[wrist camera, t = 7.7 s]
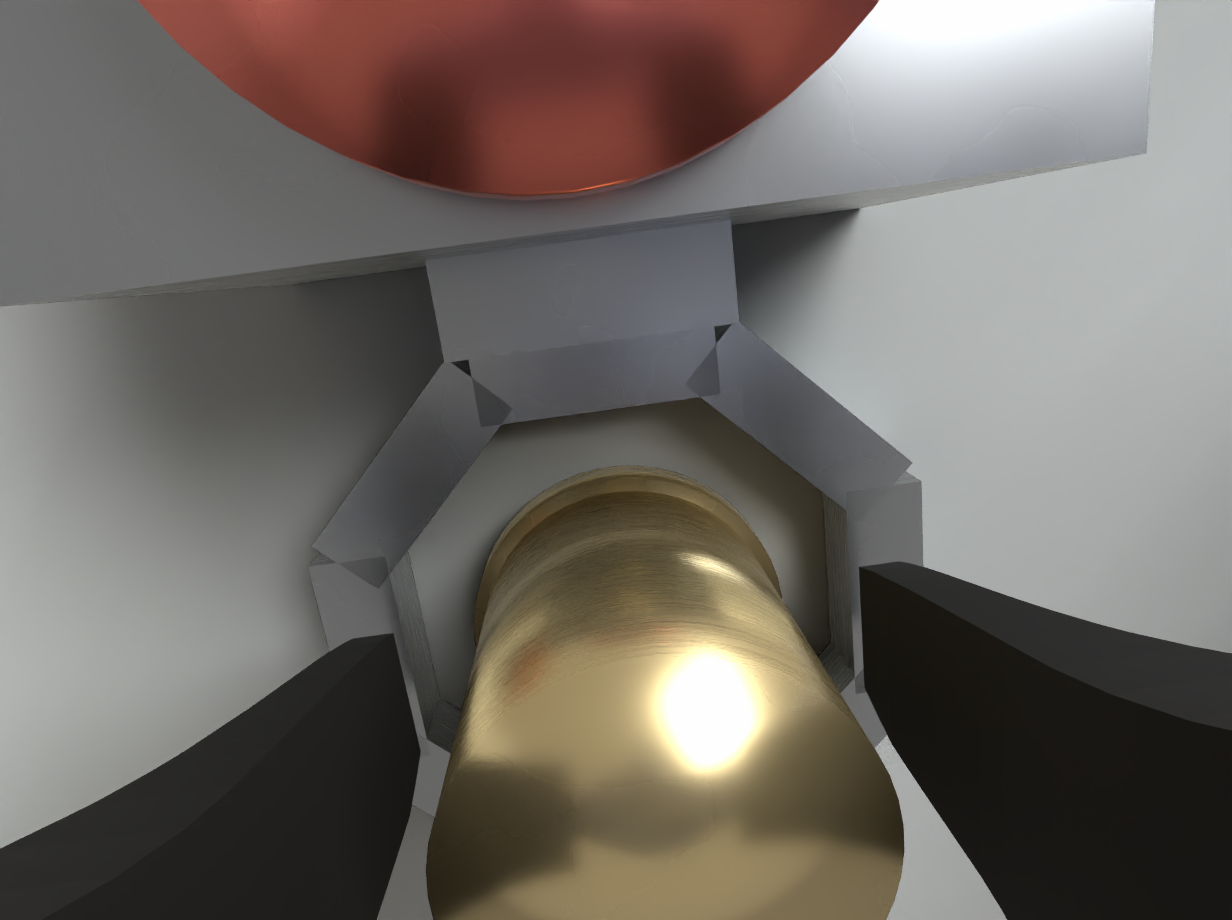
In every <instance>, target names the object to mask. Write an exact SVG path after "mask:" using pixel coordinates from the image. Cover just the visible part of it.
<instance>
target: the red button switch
mask: <svg viewBox="0 0 1232 920" xmlns="http://www.w3.org/2000/svg"><path fill="white" fill-rule="evenodd" d="M1154 5H1155V0H0V306H12V305H25V304H38V303H52V302H65V301H78V300H91V299H105V298H118V297H131V296H144V295H157V294H171V293H184V292H197V291H210V290H224V289H237V288H250V287H263V286H277V285H290V284H297V283H305V282H312V281H320V280H327V279H335V278H342V277H350V276H357V275H365V274H372V273H379V272H387V271H394V270H402V269H409V268H417V267H424V266H426V269H427V274H428V279H429V285H430V290H431V295H432V300H433V306H434V311H435V316H436V321H437V327H438V332H439V337H440V342H441V347H442V353H443V358H444V362H443V363H442V365H441V366H440V367H439V369H438V370H437V372H436V373H435V374H434V376H433V377H432V379H431V380H430V381H429V383H428V384H427V386H426V387H425V388H424V390H423V391H422V393H421V394H420V395H419V397H418V398H417V400H416V401H415V402H414V404H413V405H412V407H411V408H410V409H409V411H408V412H407V414H406V415H405V416H404V418H403V419H402V421H401V422H400V423H399V425H398V426H397V428H396V429H395V430H394V432H393V433H392V435H391V436H390V437H389V439H388V440H387V442H386V443H385V444H384V446H383V447H382V449H381V450H380V451H379V453H378V454H377V456H376V457H375V458H374V460H373V461H372V463H371V464H370V465H369V467H368V468H367V470H366V471H365V472H364V474H363V475H362V477H361V478H360V479H359V481H358V482H357V484H356V485H355V486H354V488H353V489H352V491H351V492H350V493H349V495H348V496H347V498H346V499H345V500H344V502H343V503H342V505H341V506H340V507H339V509H338V510H337V512H336V513H335V514H334V516H333V517H332V519H331V520H330V521H329V523H328V524H327V526H326V527H325V528H324V530H323V531H322V533H321V534H320V535H319V537H318V538H317V540H316V541H315V542H314V544H313V545H312V547H313V548H314V549H316V550H318V551H319V552H321V553H320V554H319V555H318V556H317V557H316V558H315V560H314V561H313V562H312V563H311V564H310V565H309V566H308V570H309V574H310V578H311V581H312V585H313V589H314V593H315V597H316V601H317V605H318V609H319V612H320V616H321V620H322V624H323V628H324V632H325V636H326V640H327V643H328V647H329V651H332V650H333V649H335V648H336V647H338V646H340V645H341V644H343V643H345V642H347V641H349V640H351V639H353V638H360V637H367V636H374V635H381V634H388V633H394V637H395V642H396V646H397V650H398V655H399V659H400V663H401V668H402V672H403V676H404V681H405V685H406V689H407V694H408V698H409V702H410V707H411V711H412V715H413V720H414V724H415V728H416V733H417V737H418V741H419V746H420V750H421V754H420V760H419V766H418V773H417V779H416V785H415V791H414V796H413V801H412V805H414V806H416V807H417V808H419V809H421V810H423V811H424V812H426V813H428V814H429V815H431V816H433V817H435V814H436V810H437V806H438V802H439V798H440V794H441V790H442V786H443V782H444V778H445V774H446V770H447V766H448V762H449V758H450V754H451V750H452V746H453V742H454V738H455V734H456V730H457V726H458V722H459V718H460V714H461V711H460V710H458V709H456V708H455V707H453V706H451V705H450V704H448V703H447V702H445V701H443V700H442V699H440V696H439V692H438V687H437V683H436V678H435V674H434V669H433V664H432V660H431V655H430V651H429V646H428V641H427V637H426V632H425V628H424V623H423V619H422V614H421V609H420V605H419V600H418V596H417V591H416V587H415V582H414V577H413V573H412V568H411V564H410V559H409V554H408V549H409V548H410V546H411V545H412V544H413V542H414V541H415V540H416V538H417V537H418V536H419V534H420V533H421V532H422V530H423V529H424V528H425V526H426V525H427V524H428V522H429V521H430V520H431V518H432V517H433V516H434V514H435V513H436V512H437V510H438V509H439V508H440V506H441V505H442V504H443V502H444V501H445V499H446V498H447V497H448V495H449V494H450V493H451V491H452V490H453V489H454V487H455V486H456V485H457V483H458V482H459V481H460V479H461V478H462V477H463V475H464V474H465V473H466V471H467V470H468V469H469V467H470V466H471V465H472V463H473V462H474V461H475V459H476V458H477V457H478V455H479V454H480V453H481V451H482V450H483V448H484V447H485V446H486V444H487V443H488V442H489V440H490V439H491V438H492V436H493V435H494V434H495V432H496V431H497V430H498V428H499V427H500V426H501V424H509V423H516V422H523V421H530V420H538V419H545V418H552V417H560V416H567V415H574V414H581V413H589V412H596V411H603V410H610V409H618V408H625V407H632V406H640V405H647V404H654V403H661V402H669V401H676V400H683V399H690V398H698V397H701V398H702V399H703V400H705V401H706V402H707V403H708V404H710V405H711V406H712V407H714V408H715V409H716V410H717V411H719V412H720V413H721V414H723V415H724V416H725V417H726V418H728V419H729V420H730V421H732V422H733V423H734V424H736V425H737V426H738V427H739V428H741V429H742V430H743V431H745V432H746V433H747V434H748V435H750V436H751V437H752V438H754V439H755V440H756V441H757V442H759V443H760V444H761V445H763V446H764V447H765V448H766V449H768V450H769V451H770V452H772V453H773V454H774V455H775V456H777V457H778V458H779V459H781V460H782V461H783V462H785V463H786V464H787V465H788V466H790V467H791V468H792V469H794V470H795V471H796V472H797V473H799V474H800V475H801V476H803V477H804V478H805V479H806V480H808V481H809V482H810V483H812V484H813V485H814V486H815V487H817V488H818V489H819V490H821V491H822V496H823V513H824V530H825V547H826V564H827V581H828V597H829V614H830V631H831V643H830V644H829V645H828V646H827V648H826V649H825V650H824V651H823V652H822V653H821V654H820V655H819V656H818V658H819V660H820V662H821V663H822V665H823V666H824V668H825V670H826V671H827V673H828V674H829V676H830V678H831V679H832V681H833V682H834V684H835V686H836V687H837V689H838V691H839V692H840V694H841V695H842V697H843V699H844V700H845V702H846V703H847V705H848V707H849V708H850V710H851V711H852V713H853V715H854V716H855V718H856V719H857V721H858V723H859V724H860V726H861V727H862V729H863V731H864V732H865V734H866V736H867V737H868V739H869V740H870V742H871V744H872V745H873V747H874V748H875V747H876V746H877V745H878V744H879V743H880V742H881V741H882V739H883V738H884V737H885V736H886V735H887V733H886V731H885V729H884V727H883V725H882V724H881V722H880V720H879V718H878V715H877V713H876V711H875V709H874V707H873V705H872V703H871V701H870V698H869V696H868V694H867V692H866V690H865V688H864V668H863V646H862V625H861V603H860V582H859V567H862V566H869V565H876V564H883V563H890V562H897V561H901V562H906V563H911V564H915V565H918V566H922V567H923V534H922V488H921V481H920V480H919V479H917V478H915V477H914V476H912V475H911V474H909V473H908V472H906V470H907V468H908V467H909V466H910V465H911V464H912V462H911V461H910V460H908V459H907V458H906V457H905V456H904V455H902V454H901V453H900V452H899V451H897V450H896V449H895V448H894V447H892V446H891V445H890V444H889V443H888V442H886V441H885V440H884V439H883V438H881V437H880V436H879V435H878V434H876V433H875V432H874V431H873V430H871V429H870V428H869V427H868V426H867V425H865V424H864V423H863V422H862V421H860V420H859V419H858V418H857V417H855V416H854V415H853V414H852V413H851V412H849V411H848V410H847V409H846V408H844V407H843V406H842V405H841V404H839V403H838V402H837V401H836V400H835V399H833V398H832V397H831V396H830V395H828V394H827V393H826V392H825V391H823V390H822V389H821V388H820V387H819V386H817V385H816V384H815V383H814V382H812V381H811V380H810V379H809V378H807V377H806V376H805V375H804V374H803V373H801V372H800V371H799V370H798V369H796V368H795V367H794V366H793V365H791V364H790V363H789V362H788V361H786V360H785V359H784V358H783V357H782V356H780V355H779V354H778V353H777V352H775V351H774V350H773V349H772V348H770V347H769V346H768V345H767V344H766V343H764V342H763V341H762V340H761V339H759V338H758V337H757V336H756V335H754V334H753V333H752V332H751V331H750V330H748V329H747V328H746V327H745V326H743V325H742V324H741V323H740V322H739V312H738V301H737V289H736V277H735V265H734V253H733V242H732V230H731V225H738V224H745V223H753V222H760V221H768V220H775V219H783V218H790V217H797V216H805V215H812V214H820V213H827V212H835V211H842V210H850V209H857V208H864V207H869V206H874V205H880V204H885V203H890V202H895V201H900V200H906V199H911V198H916V197H921V196H926V195H931V194H937V193H942V192H947V191H952V190H957V189H963V188H968V187H973V186H978V185H983V184H989V183H994V182H999V181H1004V180H1009V179H1015V178H1020V177H1025V176H1030V175H1035V174H1040V173H1046V172H1051V171H1056V170H1061V169H1066V168H1072V167H1077V166H1082V165H1087V164H1092V163H1098V162H1103V161H1108V160H1113V159H1118V158H1123V157H1129V156H1134V155H1139V154H1144V153H1146V151H1147V133H1148V114H1149V96H1150V78H1151V60H1152V42H1153V23H1154Z"/></svg>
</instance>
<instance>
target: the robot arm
mask: <svg viewBox="0 0 1232 920" xmlns="http://www.w3.org/2000/svg"><path fill="white" fill-rule="evenodd" d="M859 582H860V603H861V625H862V646H863V668H864V688H865V690H866V692H867V694H868V696H869V698H870V701H871V703H872V705H873V707H874V709H875V711H876V713H877V715H878V718H879V720H880V722H881V724H882V725H883V727H884V729H885V731H886V733H887V735H888V737H889V739H890V741H891V743H892V745H893V747H894V748H895V750H896V751H897V753H898V754H899V756H900V757H901V759H902V760H903V762H904V763H905V765H906V766H907V768H908V769H909V771H910V772H911V774H912V775H913V777H914V778H915V780H916V781H917V783H918V784H919V786H920V787H921V789H922V790H923V792H924V793H925V795H926V796H927V798H928V799H929V801H930V802H931V803H932V805H933V806H934V808H935V809H936V811H937V812H938V814H939V815H940V817H941V818H942V820H943V821H944V823H945V824H946V826H947V827H948V828H949V830H950V831H951V833H952V834H953V836H954V837H955V839H956V840H957V842H958V843H959V845H960V846H961V848H962V849H963V851H964V852H965V853H966V855H967V856H968V858H969V859H970V861H971V862H972V864H973V865H974V867H975V868H976V870H977V871H978V873H979V874H980V876H981V877H982V879H983V880H984V882H985V884H986V885H987V887H988V888H989V890H990V892H991V893H992V895H993V896H994V898H995V900H996V901H997V903H998V904H999V906H1000V908H1001V909H1002V911H1003V913H1004V915H1005V917H1006V918H1007V920H1232V654H1231V653H1225V652H1219V651H1214V650H1209V649H1204V648H1198V647H1193V646H1188V645H1183V644H1179V643H1175V642H1170V641H1166V640H1161V639H1157V638H1153V637H1148V636H1144V635H1139V634H1135V633H1130V632H1126V631H1122V630H1119V629H1115V628H1111V627H1107V626H1103V625H1100V624H1096V623H1093V622H1089V621H1086V620H1082V619H1079V618H1076V617H1072V616H1069V615H1066V614H1062V613H1059V612H1055V611H1052V610H1049V609H1046V608H1043V607H1040V606H1036V605H1033V604H1030V603H1027V602H1024V601H1021V600H1018V599H1015V598H1012V597H1009V596H1006V595H1004V594H1001V593H998V592H995V591H992V590H989V589H986V588H983V587H981V586H978V585H975V584H972V583H969V582H966V581H964V580H961V579H958V578H955V577H952V576H949V575H946V574H944V573H941V572H938V571H934V570H931V569H928V568H925V567H922V566H918V565H915V564H911V563H906V562H901V561H897V562H890V563H883V564H876V565H869V566H862V567H859ZM420 754H421V750H420V746H419V741H418V737H417V733H416V728H415V724H414V720H413V715H412V711H411V707H410V702H409V698H408V694H407V689H406V685H405V681H404V676H403V672H402V668H401V663H400V659H399V655H398V650H397V646H396V642H395V637H394V633H388V634H381V635H374V636H367V637H360V638H353V639H351V640H349V641H347V642H345V643H343V644H341V645H340V646H338V647H336V648H335V649H333V650H332V651H330V652H328V653H327V654H326V655H324V656H323V657H321V658H320V659H318V660H317V661H315V662H314V663H312V664H311V665H310V666H308V667H307V668H305V669H304V670H303V671H301V672H300V673H298V674H297V675H296V676H294V677H293V678H291V679H290V680H289V681H287V682H286V683H284V684H283V685H282V686H280V687H279V688H277V689H276V690H275V691H273V692H272V693H270V694H269V695H267V696H266V697H265V698H263V699H262V700H260V701H259V702H258V703H256V704H255V705H253V706H252V707H251V708H249V709H248V710H246V711H245V712H243V713H242V714H240V715H239V716H237V717H236V718H234V719H233V720H231V721H230V722H228V723H227V724H225V725H224V726H222V727H220V728H219V729H217V730H216V731H214V732H213V733H211V734H210V735H208V736H207V737H205V738H204V739H202V740H201V741H199V742H198V743H196V744H195V745H193V746H192V747H190V748H189V749H187V750H186V751H184V752H182V753H181V754H179V755H178V756H176V757H174V758H173V759H171V760H169V761H168V762H166V763H164V764H163V765H161V766H159V767H158V768H156V769H154V770H153V771H151V772H149V773H148V774H146V775H144V776H142V777H140V778H139V779H137V780H135V781H133V782H131V783H130V784H128V785H126V786H124V787H122V788H121V789H119V790H117V791H115V792H113V793H112V794H110V795H108V796H106V797H104V798H102V799H101V800H99V801H97V802H95V803H93V804H91V805H89V806H87V807H85V808H83V809H81V810H79V811H77V812H75V813H73V814H71V815H69V816H67V817H65V818H63V819H61V820H59V821H56V822H54V823H52V824H50V825H48V826H46V827H44V828H42V829H40V830H38V831H36V832H34V833H32V834H30V835H28V836H26V837H24V838H21V839H19V840H17V841H15V842H13V843H11V844H9V845H7V846H5V847H3V848H1V849H0V920H377V916H378V913H379V910H380V907H381V904H382V901H383V898H384V895H385V892H386V889H387V886H388V883H389V880H390V877H391V873H392V870H393V867H394V864H395V861H396V858H397V855H398V852H399V848H400V845H401V842H402V839H403V836H404V833H405V829H406V826H407V823H408V819H409V816H410V812H411V807H412V801H413V796H414V791H415V785H416V779H417V773H418V766H419V760H420Z"/></svg>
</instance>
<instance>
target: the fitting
mask: <svg viewBox="0 0 1232 920" xmlns="http://www.w3.org/2000/svg"><path fill="white" fill-rule="evenodd" d="M474 634H475V644H476V649H477V650H476V654H475V658H474V662H473V666H472V670H471V674H470V678H469V682H468V686H467V690H466V694H465V698H464V702H463V706H462V710H461V714H460V718H459V722H458V726H457V730H456V734H455V738H454V742H453V746H452V750H451V754H450V758H449V762H448V766H447V770H446V774H445V778H444V782H443V786H442V790H441V794H440V798H439V802H438V806H437V810H436V814H435V818H434V822H433V826H432V830H431V834H430V838H429V842H428V852H427V864H426V878H427V891H428V899H429V903H430V907H431V912H432V916H433V920H886V919H887V916H888V914H889V912H890V909H891V907H892V905H893V903H894V900H895V896H896V893H897V889H898V885H899V882H900V878H901V873H902V865H903V857H904V828H903V820H902V815H901V810H900V805H899V800H898V797H897V794H896V791H895V789H894V786H893V783H892V780H891V778H890V775H889V773H888V771H887V770H886V768H885V766H884V764H883V762H882V761H881V759H880V757H879V755H878V753H877V752H876V750H875V748H874V747H873V745H872V744H871V742H870V740H869V739H868V737H867V736H866V734H865V732H864V731H863V729H862V727H861V726H860V724H859V723H858V721H857V719H856V718H855V716H854V715H853V713H852V711H851V710H850V708H849V707H848V705H847V703H846V702H845V700H844V699H843V697H842V695H841V694H840V692H839V691H838V689H837V687H836V686H835V684H834V682H833V681H832V679H831V678H830V676H829V674H828V673H827V671H826V670H825V668H824V666H823V665H822V663H821V662H820V660H819V658H818V657H817V655H816V654H815V652H814V650H813V649H812V647H811V646H810V644H809V642H808V641H807V639H806V637H805V636H804V634H803V633H802V631H801V629H800V628H799V626H798V625H797V623H796V621H795V620H794V618H793V617H792V615H791V613H790V612H789V610H788V609H787V607H786V605H785V604H784V602H783V600H782V595H781V590H780V586H779V581H778V577H777V575H776V572H775V570H774V567H773V564H772V562H771V560H770V558H769V556H768V554H767V552H766V551H765V549H764V547H763V545H762V544H761V542H760V541H759V539H758V538H757V536H756V535H755V533H754V532H753V530H752V529H751V527H750V526H749V525H748V523H747V522H746V521H745V520H744V518H743V517H742V516H741V514H740V513H739V512H738V511H737V510H736V509H735V508H734V507H733V506H732V505H731V504H730V503H729V502H728V501H727V500H725V499H724V498H723V497H721V496H720V495H719V494H717V493H716V492H715V491H713V490H712V489H710V488H709V487H707V486H705V485H703V484H701V483H700V482H698V481H696V480H694V479H691V478H689V477H686V476H684V475H681V474H679V473H676V472H672V471H668V470H664V469H660V468H654V467H645V466H614V467H607V468H599V469H595V470H591V471H588V472H584V473H580V474H577V475H575V476H572V477H570V478H568V479H565V480H563V481H560V482H559V483H557V484H555V485H553V486H551V487H550V488H548V489H546V490H544V491H543V492H541V493H540V494H539V495H537V496H536V497H535V498H534V499H532V500H531V501H530V502H528V503H527V504H526V505H525V506H524V507H523V508H522V509H521V510H520V511H519V512H518V513H517V514H516V515H515V516H514V517H513V518H512V519H511V521H510V522H509V523H508V525H507V526H506V527H505V529H504V530H503V531H502V533H501V534H500V536H499V538H498V540H497V541H496V543H495V545H494V547H493V548H492V551H491V553H490V556H489V558H488V561H487V563H486V566H485V570H484V573H483V576H482V580H481V583H480V587H479V591H478V595H477V600H476V605H475V615H474Z"/></svg>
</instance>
